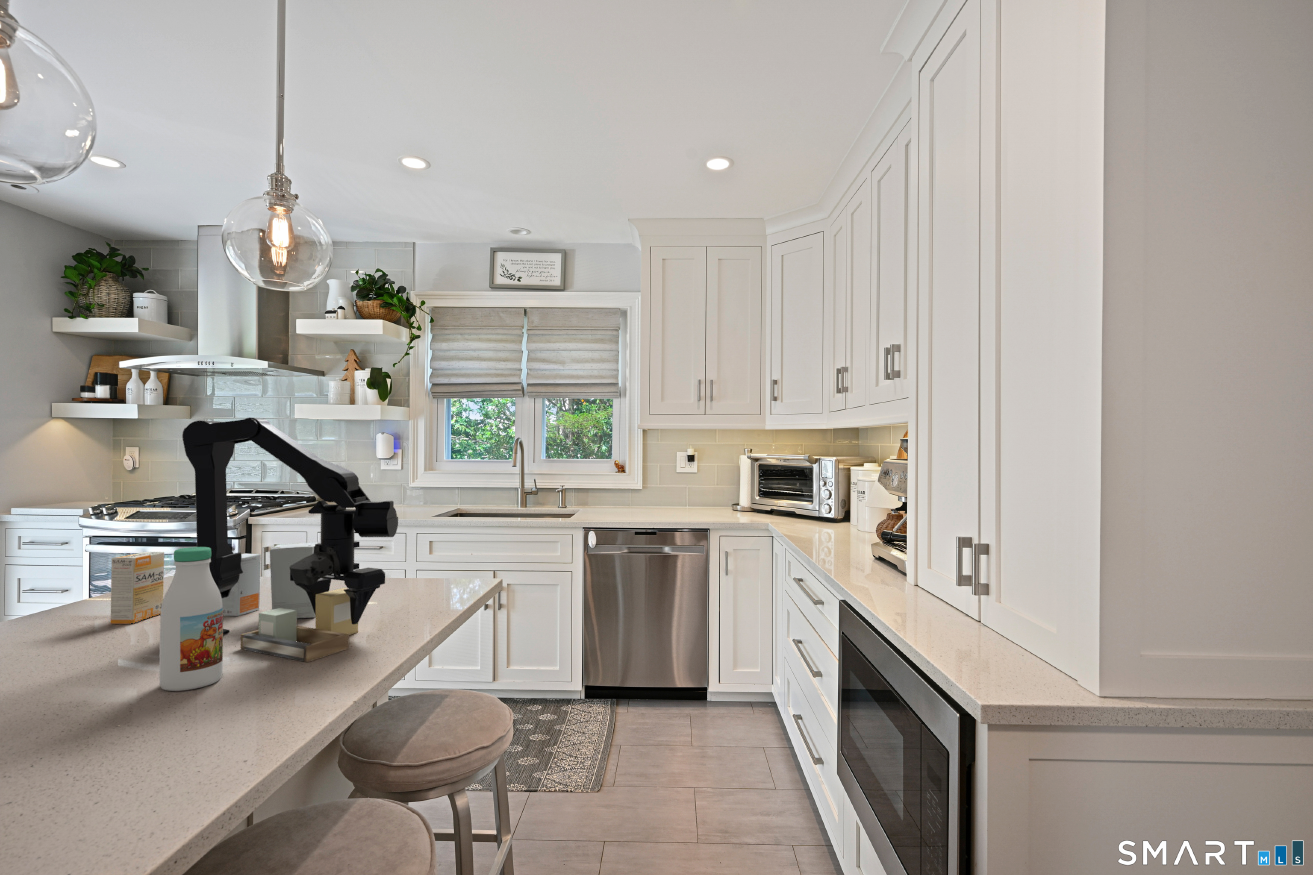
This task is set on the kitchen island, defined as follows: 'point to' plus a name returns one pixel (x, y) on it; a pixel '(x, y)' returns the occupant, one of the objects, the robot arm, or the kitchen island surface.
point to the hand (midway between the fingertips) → (337, 621)
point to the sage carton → (278, 623)
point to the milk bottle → (191, 624)
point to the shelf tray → (298, 644)
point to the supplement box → (136, 587)
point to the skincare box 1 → (245, 588)
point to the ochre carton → (334, 612)
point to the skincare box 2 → (281, 586)
